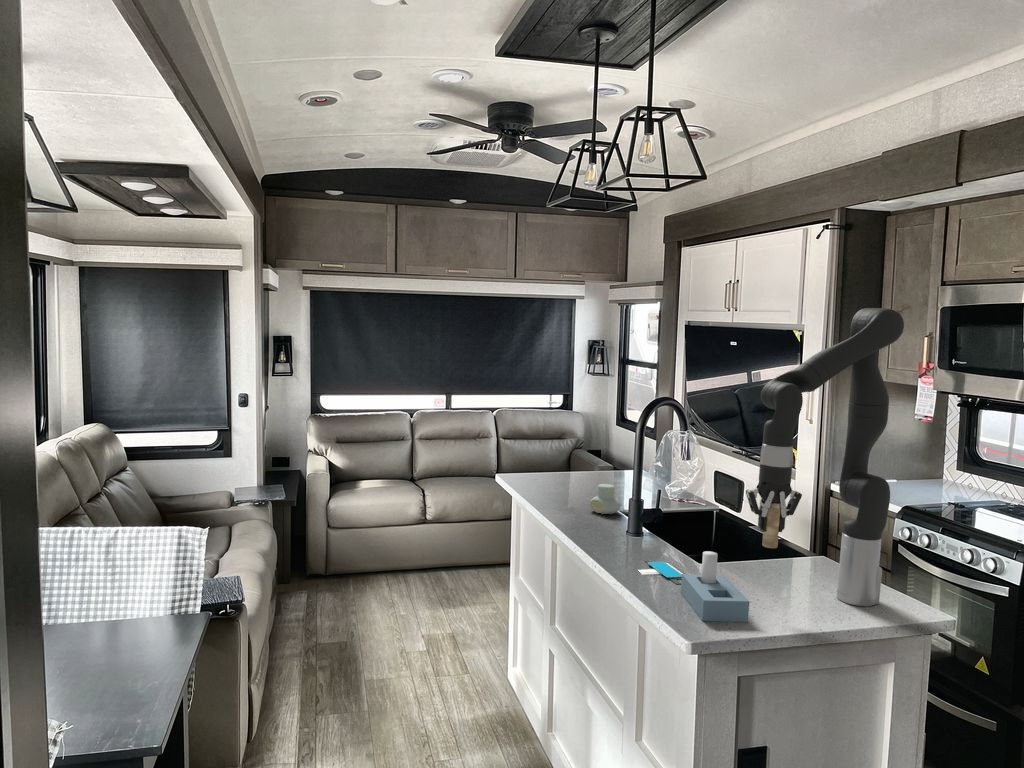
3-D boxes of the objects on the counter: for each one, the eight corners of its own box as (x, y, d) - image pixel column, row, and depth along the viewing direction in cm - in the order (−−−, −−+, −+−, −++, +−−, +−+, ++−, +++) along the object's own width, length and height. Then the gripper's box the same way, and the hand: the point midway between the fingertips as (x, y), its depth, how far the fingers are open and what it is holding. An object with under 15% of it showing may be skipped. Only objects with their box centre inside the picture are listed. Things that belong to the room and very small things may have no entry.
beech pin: (773, 543, 190) (777, 500, 189) (779, 548, 186) (783, 504, 185) (759, 543, 190) (763, 500, 188) (765, 548, 186) (768, 504, 185)
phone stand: (624, 562, 219) (625, 557, 219) (661, 561, 222) (662, 555, 222) (656, 587, 200) (656, 581, 200) (696, 585, 203) (696, 579, 203)
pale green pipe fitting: (623, 515, 270) (625, 487, 269) (607, 517, 265) (608, 489, 264) (602, 507, 279) (604, 481, 278) (585, 510, 274) (587, 483, 273)
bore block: (722, 593, 196) (725, 548, 195) (747, 621, 178) (751, 572, 177) (680, 592, 196) (683, 547, 194) (702, 621, 178) (705, 571, 177)
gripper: (797, 460, 190) (792, 527, 192) (742, 458, 189) (737, 526, 191) (811, 466, 183) (805, 536, 184) (753, 464, 182) (748, 534, 183)
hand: (770, 530), depth 188 cm, fingers closed on beech pin, 3 cm apart
